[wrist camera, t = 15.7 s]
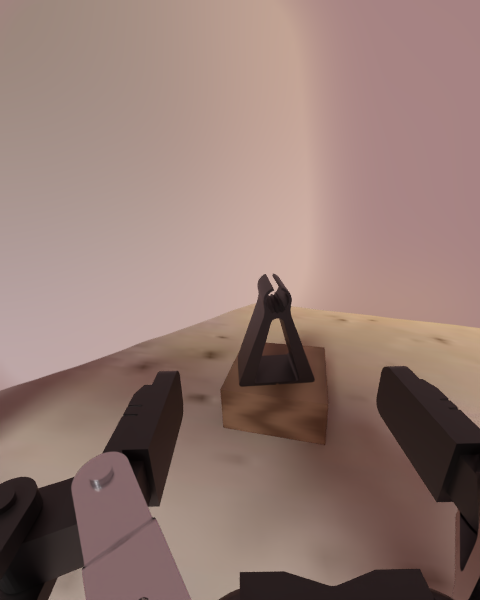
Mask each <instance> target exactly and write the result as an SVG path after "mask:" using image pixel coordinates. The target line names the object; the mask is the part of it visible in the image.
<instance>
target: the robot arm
mask: <svg viewBox="0 0 480 600" xmlns="http://www.w3.org/2000/svg"><path fill="white" fill-rule="evenodd" d="M377 408H378V411H379V414H380V416H381V417H382V419H383V420H384V422H385V423H386V425H387V426H388V428H389V430H390V431H391V433H392V434H393V436H394V437H395V439H396V440H397V442H398V443H399V445H400V446H401V448H402V450H403V451H404V453H405V454H406V456H407V457H408V459H409V460H410V462H411V463H412V465H413V466H414V468H415V470H416V471H417V473H418V474H419V476H420V477H421V479H422V480H423V482H424V483H425V485H426V486H427V488H428V489H429V491H430V493H431V494H432V496H433V497H434V499H435V500H436V502H454V503H455V505H456V506H457V508H458V510H457V513H456V522H455V581H454V588H453V593H452V598H451V597H449V596H447V595H445V594H443V593H440V592H438V591H436V590H433V589H431V588H429V587H428V585H427V583H426V581H425V579H424V577H423V575H422V573H421V570H420V569H391V570H374V571H371V572H369V573H366V574H364V575H362V576H359V577H357V578H354V579H352V580H350V581H347V582H345V583H342V584H340V585H337V586H329V585H325V584H322V583H319V582H316V581H313V580H309V579H306V578H303V577H300V576H297V575H293V574H290V573H287V572H284V571H283V572H240V589H237V590H235V591H233V592H230V593H229V594H227V595H225V596H224V597H222V598H220V599H219V600H480V428H479V427H478V426H477V425H475V424H474V423H473V422H472V421H471V420H470V419H469V418H468V417H467V416H466V415H465V414H464V413H463V412H462V411H461V410H458V407H457V406H456V405H455V404H453V403H452V402H451V401H449V400H448V398H447V397H446V396H445V395H444V394H443V393H442V392H441V391H440V390H439V389H438V388H436V387H435V386H433V385H431V384H430V383H428V382H426V381H425V380H423V379H419V378H418V377H417V376H416V375H415V374H414V373H413V372H412V371H411V370H410V369H409V368H408V367H406V366H390V367H384V368H383V369H382V372H381V377H380V383H379V388H378V393H377ZM182 417H183V397H182V389H181V381H180V374H179V372H178V371H159V372H158V374H157V376H156V378H155V380H154V382H153V384H152V385H144V386H143V387H142V388H141V389H139V390H138V391H137V392H136V393H135V394H134V395H133V397H132V399H131V401H130V403H129V405H128V407H127V408H126V410H125V412H124V414H123V417H122V418H121V420H120V421H119V423H118V425H117V427H116V429H115V431H114V433H113V434H112V436H111V438H110V440H109V442H108V444H107V446H106V447H105V449H104V451H103V453H102V454H100V455H98V456H96V457H94V458H92V459H91V460H89V461H88V462H87V463H85V464H84V465H83V466H82V467H81V468H80V469H79V471H78V472H77V473H76V475H75V477H73V478H70V479H67V480H64V481H61V482H58V483H54V484H51V485H48V486H45V487H41V488H38V487H37V485H36V482H35V481H34V480H33V479H31V478H29V477H18V478H14V479H11V480H8V481H6V482H3V483H1V484H0V600H48V598H49V596H50V594H51V592H52V589H53V587H54V585H55V582H56V580H57V578H58V577H59V576H62V575H64V574H67V573H69V572H71V571H74V570H76V569H79V568H81V567H83V568H82V575H83V583H84V590H85V596H86V600H191V598H190V596H189V593H188V591H187V589H186V586H185V584H184V582H183V579H182V577H181V575H180V572H179V570H178V568H177V565H176V563H175V561H174V558H173V556H172V554H171V551H170V549H169V547H168V544H167V542H166V540H165V537H164V535H163V533H162V530H161V528H160V526H159V524H158V522H157V520H156V518H155V517H154V518H153V517H152V515H151V513H150V511H149V508H148V507H153V506H160V502H161V498H162V494H163V490H164V487H165V483H166V479H167V475H168V471H169V467H170V464H171V460H172V456H173V452H174V448H175V444H176V441H177V437H178V433H179V429H180V425H181V421H182Z"/></svg>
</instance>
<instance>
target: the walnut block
mask: <svg viewBox="0 0 480 600" xmlns="http://www.w3.org/2000/svg"><path fill="white" fill-rule="evenodd" d="M303 349H304V351H305V354H306V357H307V359H308V362H309V365H310V367H311V370H312V373H313V375H314V378H315V381H314V382H311V383H295V384H278V383H277V384H276V385H262V386H246V387H241V386H240V385H239V372H238V355H237V357H236V359H235V361H234V363H233V365H232V367H231V369H230V371H229V373H228V376H227V378H226V380H225V382H224V384H223V386H222V388H221V402H222V414H223V426H224V428H229V429H235V430H241V431H247V432H253V433H259V434H265V435H270V436H276V437H282V438H288V439H294V440H300V441H306V442H312V443H317V444H323V445H325V439H326V426H327V414H328V392H327V378H326V363H325V349H324V348H322V347H310V346H303ZM288 353H289V351H288V347H287V344H275V343H265V346H264V350H263V353H262V356H267V355H284V354H288ZM238 354H239V353H238Z"/></svg>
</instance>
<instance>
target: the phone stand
mask: <svg viewBox="0 0 480 600" xmlns="http://www.w3.org/2000/svg"><path fill="white" fill-rule="evenodd" d="M273 278H274V279H275V281H276V283H277V284H278V286H279V287H278V290H277V291H276V292H275V294H274V295H272V294H271V295H270V296H269V295H268V294H269V293H270V292H272V291H274V289H273V287H272V285H271V283H270V281H269V279H268V277H267V276H266V274H264V275H263V276H262V277H261V278H260V279H259V281H258V291H259V295H258V300H257V303H256V306H255V309H254V312H253V315H252V317H251V320H250V323H249V326H248V329H247V332H246V334H245V337H244V340H243V343H242V346H241V349H240V351H239V354H238V372H239V385H240V386H241V387H246V386H262V385H276V384H277V383H278V384H295V383H311V382H314V381H315V378H314V375H313V373H312V370H311V367H310V365H309V362H308V359H307V357H306V354H305V351H304V349H303V346H302V343H301V341H300V338H299V335H298V333H297V330H296V327H295V325H294V322H293V319H292V317H291V311H290V308H291V302H292V298H291V295H290V293H289V291H288V290H287V289H286V287H285V286H284V284H283V283H282V281H281V280H280V278H279V277H278V276H277V275H275V274H273ZM276 318H279V319H280V323H281V326H282V330H283V333H284V337H285V340H286V344H287V347H288V351H289V353H288V354H284V355H267V356H262V353H263V350H264V346H265V342H266V339H267V335H268V332H269V328H270V324H271V322H272V320H274V319H276Z"/></svg>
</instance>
